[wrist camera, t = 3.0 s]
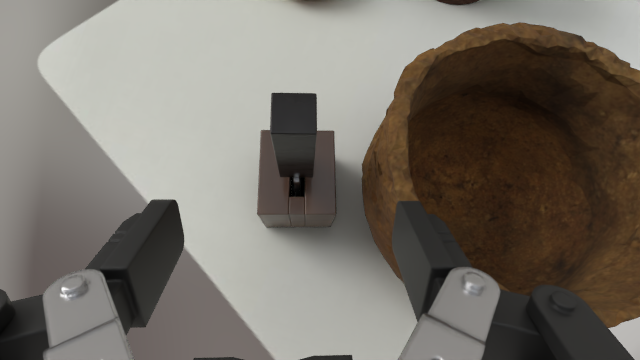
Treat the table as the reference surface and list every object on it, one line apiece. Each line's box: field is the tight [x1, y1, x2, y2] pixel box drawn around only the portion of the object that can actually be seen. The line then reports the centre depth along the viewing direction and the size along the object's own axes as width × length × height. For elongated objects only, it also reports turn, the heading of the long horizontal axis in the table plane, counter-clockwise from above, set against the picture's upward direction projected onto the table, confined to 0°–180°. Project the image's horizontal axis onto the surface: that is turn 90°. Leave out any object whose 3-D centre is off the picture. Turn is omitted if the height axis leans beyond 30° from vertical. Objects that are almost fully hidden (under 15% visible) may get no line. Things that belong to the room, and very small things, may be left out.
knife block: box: [257, 130, 336, 227], centre depth 30 cm, size 6×7×6 cm
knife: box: [270, 93, 317, 197], centre depth 25 cm, size 2×3×16 cm
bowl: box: [362, 23, 640, 328], centre depth 26 cm, size 19×19×15 cm
